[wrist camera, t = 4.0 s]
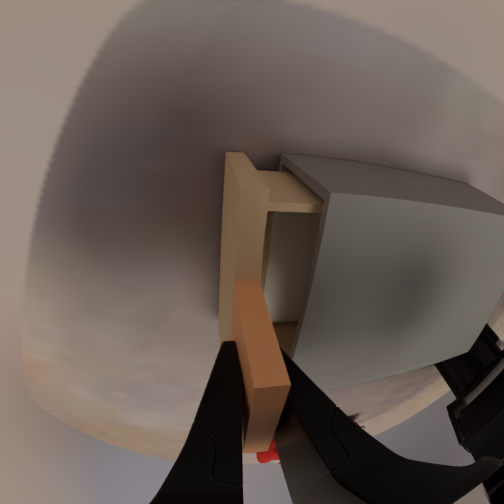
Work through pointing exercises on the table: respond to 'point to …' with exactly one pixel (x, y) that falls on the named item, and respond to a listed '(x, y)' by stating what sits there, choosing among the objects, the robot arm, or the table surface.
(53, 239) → the table surface
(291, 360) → the robot arm
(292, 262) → the beige open box
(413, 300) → the sleeve
